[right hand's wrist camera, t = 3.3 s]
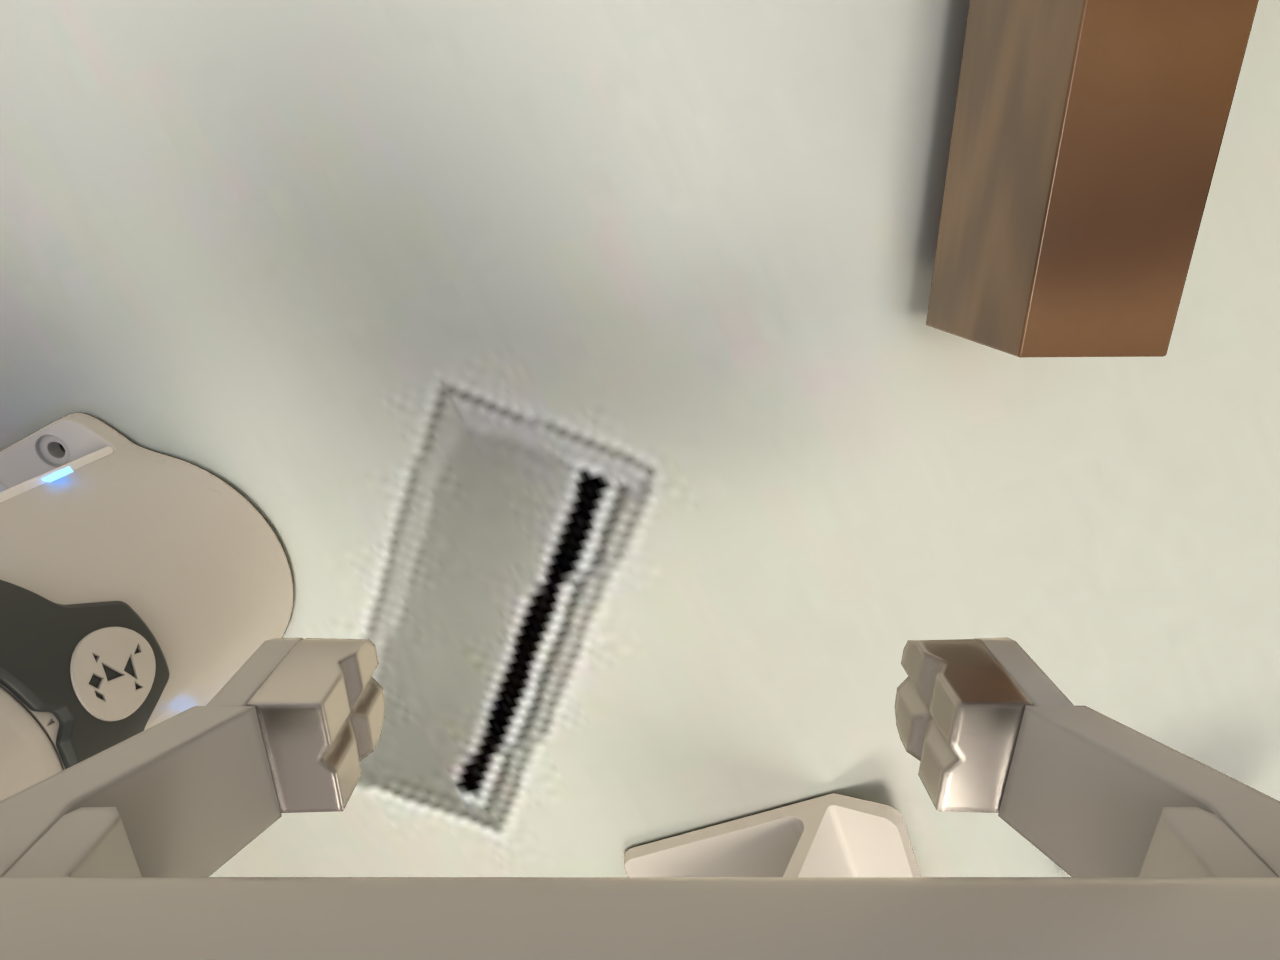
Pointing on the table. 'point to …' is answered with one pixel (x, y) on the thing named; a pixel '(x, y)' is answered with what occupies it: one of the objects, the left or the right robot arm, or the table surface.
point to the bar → (1082, 170)
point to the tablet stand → (788, 844)
